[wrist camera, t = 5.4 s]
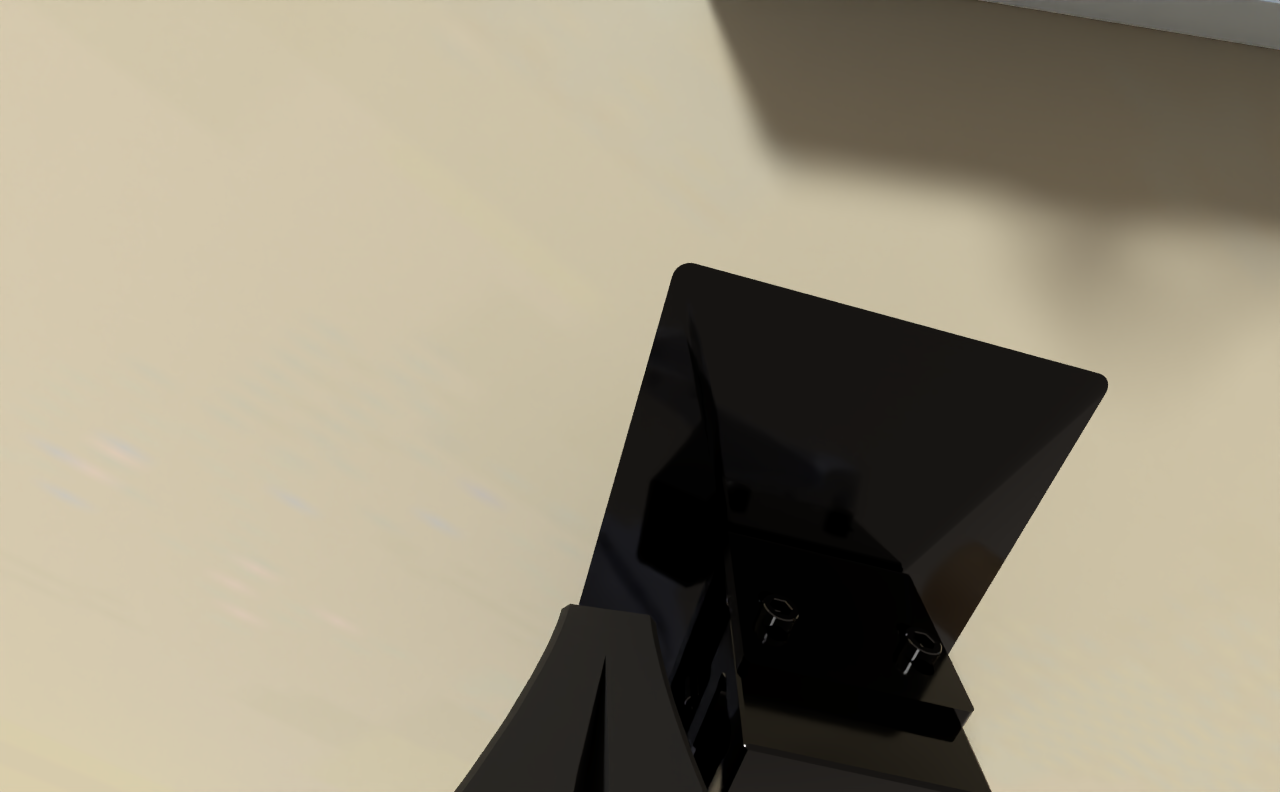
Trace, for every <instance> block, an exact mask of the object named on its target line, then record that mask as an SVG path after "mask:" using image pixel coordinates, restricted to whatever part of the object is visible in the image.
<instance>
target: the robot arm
mask: <svg viewBox="0 0 1280 792" xmlns="http://www.w3.org/2000/svg"><path fill="white" fill-rule="evenodd" d="M454 792H708V791H707V788H706V786H705V783H704V781H703V779H702V776H701V774H700V771H699V768H698V766H697V763H696V761H695V758H694V756H693V753H692V750H691V747H690V744H689V742H688V739H687V736H686V733H685V730H684V727H683V725H682V722H681V719H680V716H679V713H678V710H677V707H676V704H675V701H674V698H673V694H672V691H671V687H670V684H669V680H668V677H667V673H666V670H665V666H664V662H663V658H662V654H661V649H660V644H659V639H658V634H657V627H656V622H655V621H654V619H653V618H652V617H651V616H650V615H646V614H639V613H632V612H625V611H617V610H610V609H603V608H595V607H588V606H581V605H574V604H569V605H568V606H566V607H564V608H563V609H562V610H561V613H560V616H559V619H558V622H557V625H556V627H555V629H554V632H553V634H552V637H551V639H550V641H549V643H548V645H547V647H546V649H545V651H544V653H543V655H542V657H541V659H540V661H539V663H538V664H537V666H536V668H535V670H534V672H533V674H532V676H531V677H530V679H529V681H528V682H527V684H526V686H525V687H524V689H523V691H522V692H521V694H520V696H519V697H518V699H517V700H516V702H515V704H514V705H513V707H512V709H511V710H510V712H509V714H508V715H507V717H506V719H505V720H504V722H503V723H502V725H501V726H500V728H499V729H498V731H497V732H496V734H495V735H494V736H493V738H492V739H491V741H490V742H489V744H488V745H487V747H486V748H485V749H484V751H483V752H482V754H481V755H480V757H479V758H478V760H477V761H476V762H475V764H474V765H473V767H472V768H471V770H470V771H469V773H468V774H467V775H466V777H465V778H464V779H463V781H462V782H461V783H460V785H459V786H458V787H457V789H456V790H455V791H454Z"/></svg>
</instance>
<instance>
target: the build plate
mask: <svg viewBox="0 0 1280 792" xmlns="http://www.w3.org/2000/svg"><path fill="white" fill-rule="evenodd" d="M1107 389H1108V381H1107V379H1106V378H1105V377H1104V376H1103V375H1102V374H1099V373H1095V372H1092V371H1088V370H1084V369H1081V368H1077V367H1073V366H1069V365H1066V364H1062V363H1058V362H1055V361H1051V360H1047V359H1044V358H1040V357H1036V356H1033V355H1029V354H1025V353H1022V352H1018V351H1014V350H1011V349H1007V348H1003V347H1000V346H996V345H992V344H989V343H985V342H981V341H978V340H974V339H970V338H967V337H963V336H959V335H955V334H952V333H948V332H944V331H941V330H937V329H933V328H930V327H926V326H922V325H919V324H915V323H911V322H908V321H904V320H900V319H897V318H893V317H889V316H886V315H882V314H878V313H875V312H871V311H867V310H864V309H860V308H856V307H853V306H849V305H845V304H841V303H838V302H834V301H830V300H827V299H823V298H819V297H816V296H812V295H808V294H805V293H801V292H797V291H794V290H790V289H786V288H783V287H779V286H775V285H772V284H768V283H764V282H761V281H757V280H753V279H750V278H746V277H742V276H739V275H735V274H731V273H728V272H724V271H720V270H716V269H713V268H709V267H705V266H702V265H698V264H694V263H686V264H683V265H681V266H679V267H678V268H677V269H676V270H675V272H674V273H673V276H672V279H671V283H670V286H669V290H668V293H667V297H666V300H665V304H664V307H663V311H662V314H661V318H660V321H659V325H658V328H657V332H656V335H655V339H654V342H653V346H652V349H651V353H650V356H649V360H648V364H647V367H646V371H645V374H644V378H643V381H642V385H641V388H640V392H639V395H638V399H637V402H636V406H635V409H634V413H633V416H632V420H631V423H630V427H629V430H628V434H627V437H626V441H625V444H624V448H623V452H622V455H621V459H620V462H619V466H618V469H617V473H616V476H615V480H614V483H613V487H612V490H611V494H610V497H609V501H608V504H607V508H606V511H605V515H604V518H603V522H602V525H601V529H600V532H599V536H598V539H597V543H596V547H595V550H594V554H593V557H592V561H591V564H590V568H589V571H588V575H587V578H586V582H585V585H584V589H583V592H582V596H581V599H580V603H579V605H581V606H588V607H595V608H603V609H610V610H617V611H625V612H632V613H639V614H646V615H650V616H651V617H652V618H653V619H654V621H655V622H656V627H657V634H658V639H659V644H660V649H661V654H662V658H663V662H664V666H665V670H666V673H667V677H668V680H669V684H670V687H671V691H672V694H673V698H674V701H675V704H676V707H677V710H678V713H679V716H680V719H681V722H682V725H683V727H684V730H685V733H686V736H687V739H688V742H689V744H690V747H691V750H692V753H693V756H694V758H695V761H696V763H697V766H698V768H699V771H700V774H701V776H702V779H703V781H704V783H705V786H706V788H707V791H708V792H992V791H991V789H990V787H989V784H988V782H987V780H986V778H985V776H984V773H983V771H982V769H981V767H980V764H979V762H978V760H977V758H976V756H975V753H974V751H973V749H972V747H971V744H970V742H969V740H968V738H967V736H966V733H965V731H964V729H963V726H964V725H965V723H966V722H967V720H968V718H969V717H970V715H971V714H972V712H973V711H974V708H973V705H972V703H971V701H970V699H969V697H968V695H967V693H966V691H965V689H964V687H963V685H962V683H961V680H960V678H959V676H958V674H957V672H956V670H955V668H954V666H953V664H952V662H951V660H950V658H949V656H948V654H949V652H950V650H951V649H952V647H953V645H954V644H955V642H956V640H957V639H958V637H959V636H960V634H961V632H962V631H963V629H964V627H965V626H966V624H967V622H968V621H969V619H970V617H971V616H972V614H973V612H974V611H975V609H976V607H977V606H978V604H979V602H980V601H981V599H982V597H983V596H984V594H985V592H986V591H987V589H988V587H989V586H990V584H991V582H992V581H993V579H994V577H995V576H996V574H997V573H998V571H999V569H1000V568H1001V566H1002V564H1003V563H1004V561H1005V559H1006V558H1007V556H1008V554H1009V553H1010V551H1011V549H1012V548H1013V546H1014V544H1015V543H1016V541H1017V539H1018V538H1019V536H1020V534H1021V533H1022V531H1023V529H1024V528H1025V526H1026V524H1027V523H1028V521H1029V519H1030V518H1031V516H1032V514H1033V513H1034V511H1035V510H1036V508H1037V506H1038V505H1039V503H1040V501H1041V500H1042V498H1043V496H1044V495H1045V493H1046V491H1047V490H1048V488H1049V486H1050V485H1051V483H1052V481H1053V480H1054V478H1055V476H1056V475H1057V473H1058V471H1059V470H1060V468H1061V466H1062V465H1063V463H1064V461H1065V460H1066V458H1067V456H1068V455H1069V453H1070V451H1071V450H1072V448H1073V446H1074V445H1075V443H1076V442H1077V440H1078V438H1079V437H1080V435H1081V433H1082V432H1083V430H1084V428H1085V427H1086V425H1087V423H1088V422H1089V420H1090V418H1091V417H1092V415H1093V413H1094V412H1095V410H1096V408H1097V407H1098V405H1099V403H1100V402H1101V400H1102V398H1103V397H1104V395H1105V393H1106V391H1107Z"/></svg>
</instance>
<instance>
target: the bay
mask: <svg viewBox="0 0 1280 792" xmlns="http://www.w3.org/2000/svg"><path fill="white" fill-rule="evenodd" d="M980 1H986V2H992V3H998V4H1004V5H1011V6H1017V7H1023V8H1029V9H1035V10H1041V11H1047V12H1053V13H1059V14H1065V15H1071V16H1077V17H1083V18H1089V19H1095V20H1101V21H1108V22H1114V23H1120V24H1126V25H1132V26H1138V27H1144V28H1150V29H1156V30H1162V31H1168V32H1174V33H1180V34H1186V35H1192V36H1198V37H1205V38H1211V39H1217V40H1223V41H1229V42H1235V43H1241V44H1247V45H1253V46H1259V47H1265V48H1271V49H1277V50H1280V0H980Z"/></svg>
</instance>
